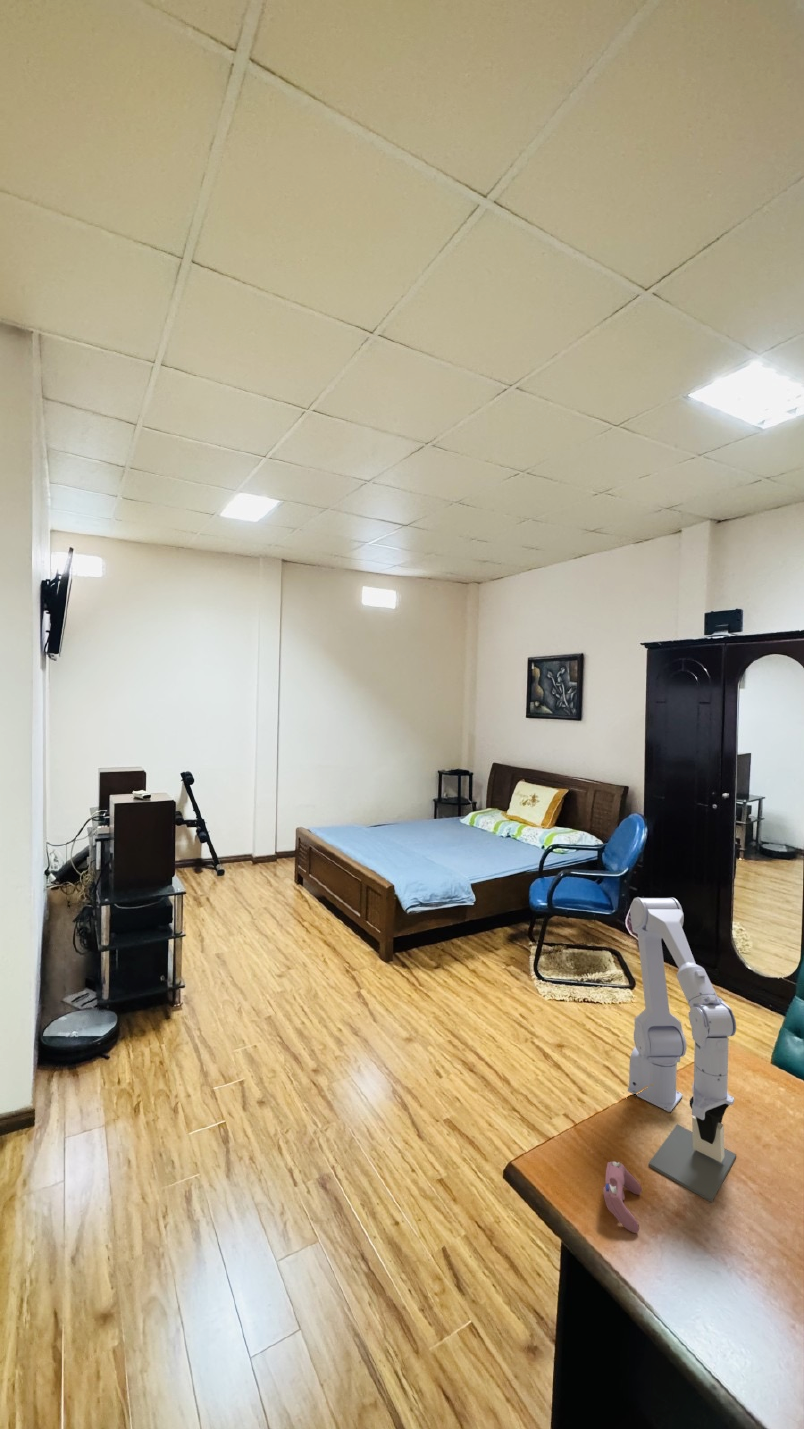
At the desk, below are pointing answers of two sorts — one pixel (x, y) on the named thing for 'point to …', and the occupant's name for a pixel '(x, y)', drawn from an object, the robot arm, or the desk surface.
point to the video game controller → (620, 1194)
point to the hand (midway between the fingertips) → (709, 1137)
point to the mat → (691, 1164)
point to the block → (706, 1148)
